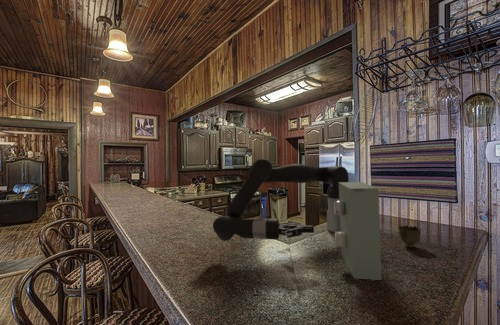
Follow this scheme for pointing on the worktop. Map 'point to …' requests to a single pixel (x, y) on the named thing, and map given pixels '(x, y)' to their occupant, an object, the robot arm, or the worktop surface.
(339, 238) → the lower knob
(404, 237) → the cup
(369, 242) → the block
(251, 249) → the worktop surface
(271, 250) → the worktop surface
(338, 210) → the upper knob
